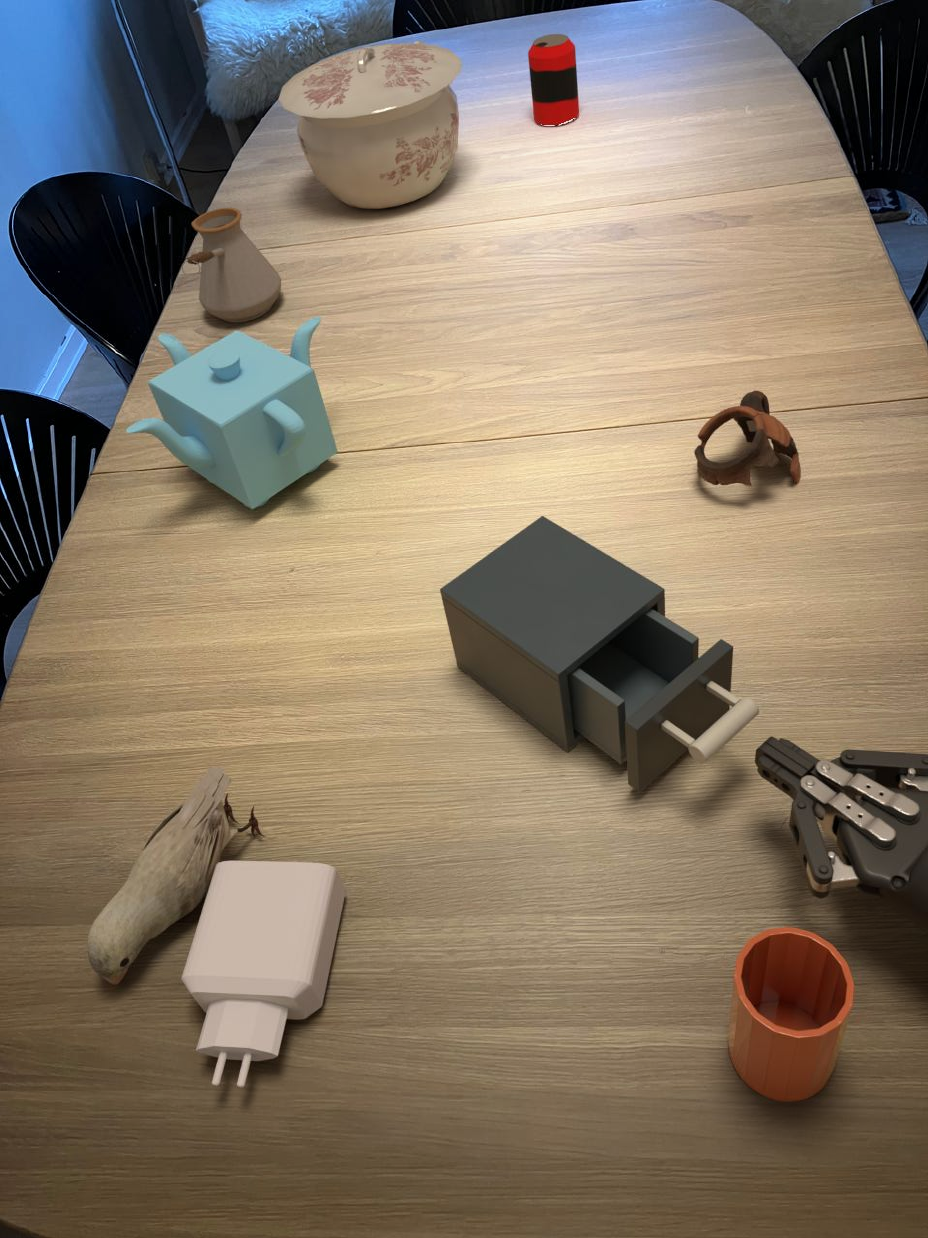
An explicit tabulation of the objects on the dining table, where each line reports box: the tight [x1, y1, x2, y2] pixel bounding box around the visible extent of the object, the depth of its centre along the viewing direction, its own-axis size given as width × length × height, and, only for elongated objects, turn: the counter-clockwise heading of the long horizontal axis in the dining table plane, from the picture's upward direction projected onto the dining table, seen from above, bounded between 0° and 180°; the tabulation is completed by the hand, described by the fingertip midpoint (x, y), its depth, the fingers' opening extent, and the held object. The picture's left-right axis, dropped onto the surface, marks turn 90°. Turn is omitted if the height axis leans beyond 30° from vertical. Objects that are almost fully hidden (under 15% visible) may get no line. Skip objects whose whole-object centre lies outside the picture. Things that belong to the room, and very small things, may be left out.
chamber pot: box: [278, 40, 463, 209], centre depth 156 cm, size 28×28×21 cm
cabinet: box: [439, 515, 666, 753], centre depth 86 cm, size 14×12×10 cm
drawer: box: [567, 608, 760, 794], centre depth 80 cm, size 17×11×8 cm, turn 41°
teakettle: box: [125, 316, 339, 510], centre depth 111 cm, size 19×19×15 cm
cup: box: [727, 926, 855, 1103], centre depth 62 cm, size 6×6×10 cm
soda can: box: [527, 33, 580, 126], centre depth 169 cm, size 8×8×12 cm
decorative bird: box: [86, 765, 266, 985], centre depth 76 cm, size 5×16×8 cm, turn 148°
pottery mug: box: [694, 390, 802, 487], centre depth 103 cm, size 12×10×8 cm
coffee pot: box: [181, 207, 282, 323], centre depth 134 cm, size 21×12×15 cm, turn 179°
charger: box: [181, 860, 347, 1089], centre depth 71 cm, size 5×9×15 cm
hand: (762, 749), depth 72 cm, fingers closed
